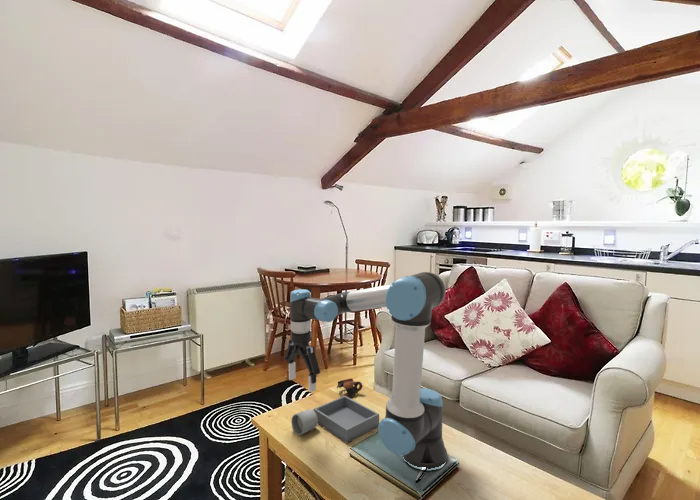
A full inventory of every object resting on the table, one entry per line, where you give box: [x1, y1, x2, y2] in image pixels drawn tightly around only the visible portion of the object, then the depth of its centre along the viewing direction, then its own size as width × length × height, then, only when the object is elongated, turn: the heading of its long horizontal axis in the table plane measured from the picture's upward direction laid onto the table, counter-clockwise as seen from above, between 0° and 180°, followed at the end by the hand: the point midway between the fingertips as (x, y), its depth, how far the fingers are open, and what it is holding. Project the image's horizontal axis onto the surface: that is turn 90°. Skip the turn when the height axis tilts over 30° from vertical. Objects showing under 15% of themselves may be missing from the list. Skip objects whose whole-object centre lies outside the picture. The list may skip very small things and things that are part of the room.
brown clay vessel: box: [336, 378, 364, 399], centre depth 177 cm, size 12×10×8 cm
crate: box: [313, 395, 380, 444], centre depth 152 cm, size 21×17×5 cm
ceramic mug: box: [291, 408, 319, 436], centre depth 148 cm, size 11×8×8 cm
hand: (302, 384), depth 146 cm, fingers open, 13 cm apart
